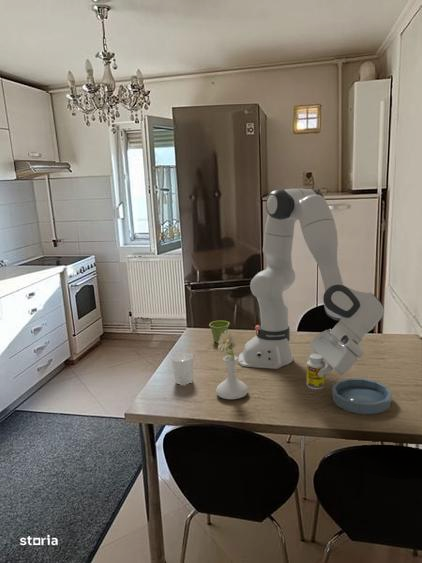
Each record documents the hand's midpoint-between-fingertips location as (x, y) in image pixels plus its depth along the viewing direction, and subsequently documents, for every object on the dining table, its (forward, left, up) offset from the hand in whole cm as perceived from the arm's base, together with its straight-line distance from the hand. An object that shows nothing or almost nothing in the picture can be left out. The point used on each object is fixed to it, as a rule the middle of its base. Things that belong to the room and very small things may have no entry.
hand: (313, 370), depth 137 cm
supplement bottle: (+1, 0, -6) cm, 6 cm away
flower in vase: (-27, +9, -14) cm, 32 cm away
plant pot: (-36, +62, -14) cm, 73 cm away
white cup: (-46, +20, -14) cm, 52 cm away
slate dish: (+16, +6, -14) cm, 22 cm away
